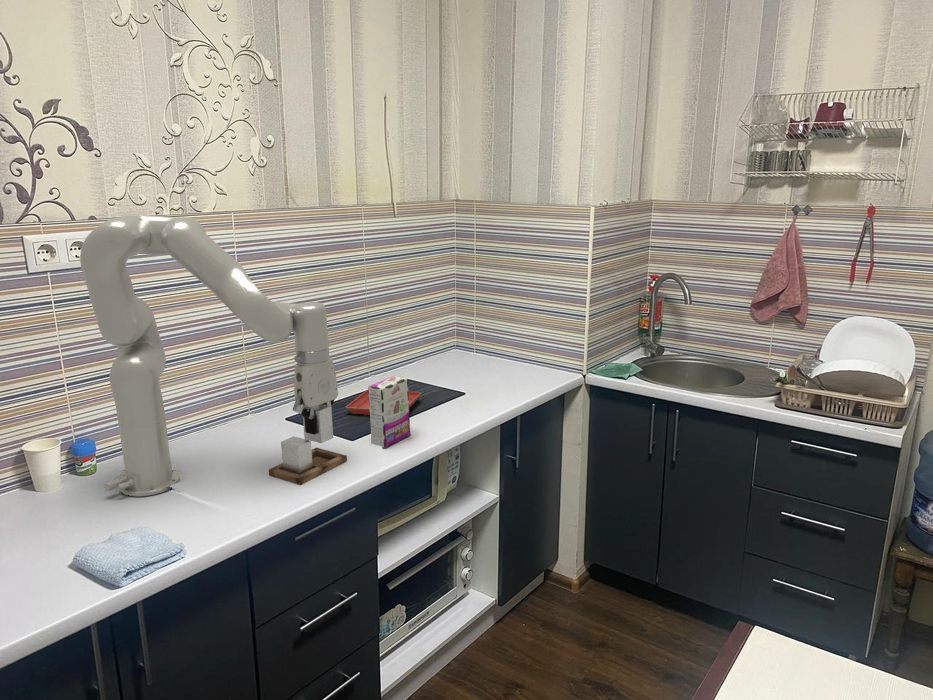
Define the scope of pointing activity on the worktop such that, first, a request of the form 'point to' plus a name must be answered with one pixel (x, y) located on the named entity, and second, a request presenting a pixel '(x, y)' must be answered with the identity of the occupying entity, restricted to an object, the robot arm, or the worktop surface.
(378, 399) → the candy bar box
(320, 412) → the billet
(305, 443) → the block
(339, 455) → the wooden divided tray
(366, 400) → the plant saucer
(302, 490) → the worktop surface
